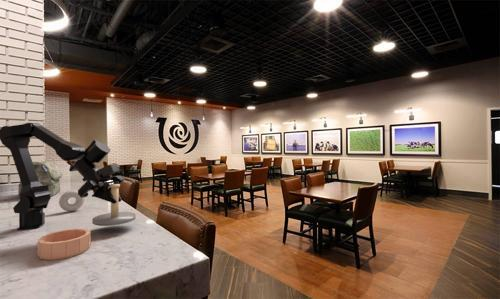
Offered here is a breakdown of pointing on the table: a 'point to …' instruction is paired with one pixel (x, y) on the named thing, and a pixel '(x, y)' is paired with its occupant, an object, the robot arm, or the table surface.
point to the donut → (70, 207)
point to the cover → (114, 212)
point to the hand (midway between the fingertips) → (118, 201)
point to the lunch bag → (47, 176)
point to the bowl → (64, 244)
